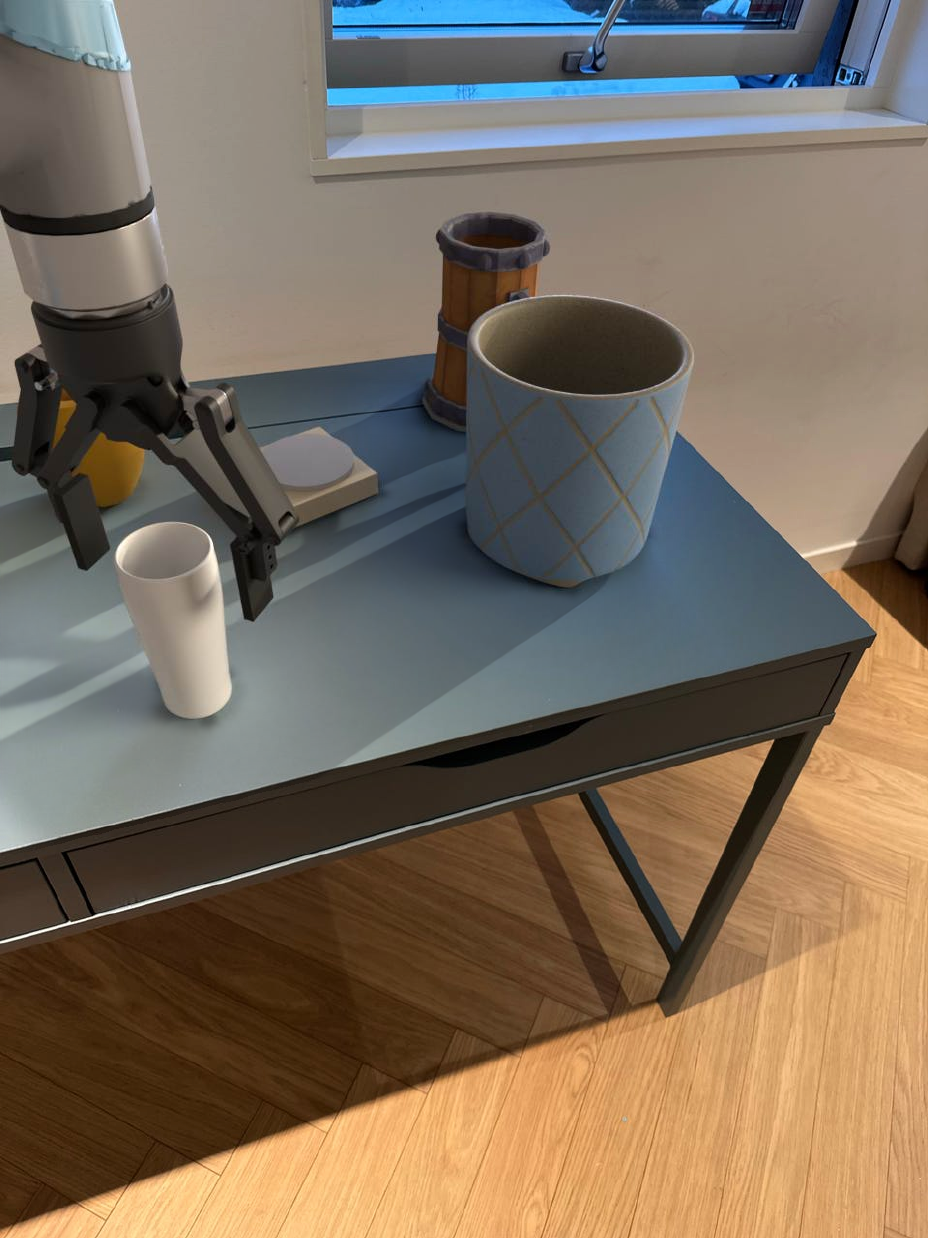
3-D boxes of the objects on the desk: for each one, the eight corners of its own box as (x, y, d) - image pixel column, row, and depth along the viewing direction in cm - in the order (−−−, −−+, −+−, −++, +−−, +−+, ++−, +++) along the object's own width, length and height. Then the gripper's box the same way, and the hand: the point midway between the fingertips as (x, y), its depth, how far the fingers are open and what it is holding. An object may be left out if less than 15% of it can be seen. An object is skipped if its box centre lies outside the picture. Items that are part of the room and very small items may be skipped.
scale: (285, 531, 88) (282, 505, 86) (230, 479, 94) (226, 453, 92) (378, 493, 93) (377, 467, 91) (320, 445, 99) (318, 421, 97)
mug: (595, 432, 104) (623, 257, 90) (493, 469, 97) (506, 287, 84) (496, 362, 115) (508, 197, 101) (399, 391, 109) (397, 219, 95)
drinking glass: (259, 696, 72) (234, 550, 62) (187, 744, 69) (148, 596, 58) (209, 654, 76) (177, 508, 65) (137, 696, 72) (91, 549, 62)
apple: (42, 471, 94) (4, 356, 85) (150, 454, 97) (123, 341, 88) (47, 534, 86) (6, 415, 78) (164, 513, 89) (136, 396, 81)
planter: (572, 624, 80) (605, 426, 66) (419, 530, 89) (420, 339, 75) (688, 531, 90) (737, 344, 77) (540, 455, 100) (561, 276, 86)
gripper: (337, 304, 49) (357, 596, 64) (-32, 229, 55) (64, 511, 70) (266, 365, 44) (306, 667, 58) (-132, 275, 50) (-6, 569, 64)
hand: (174, 583), depth 64 cm, fingers open, 13 cm apart
